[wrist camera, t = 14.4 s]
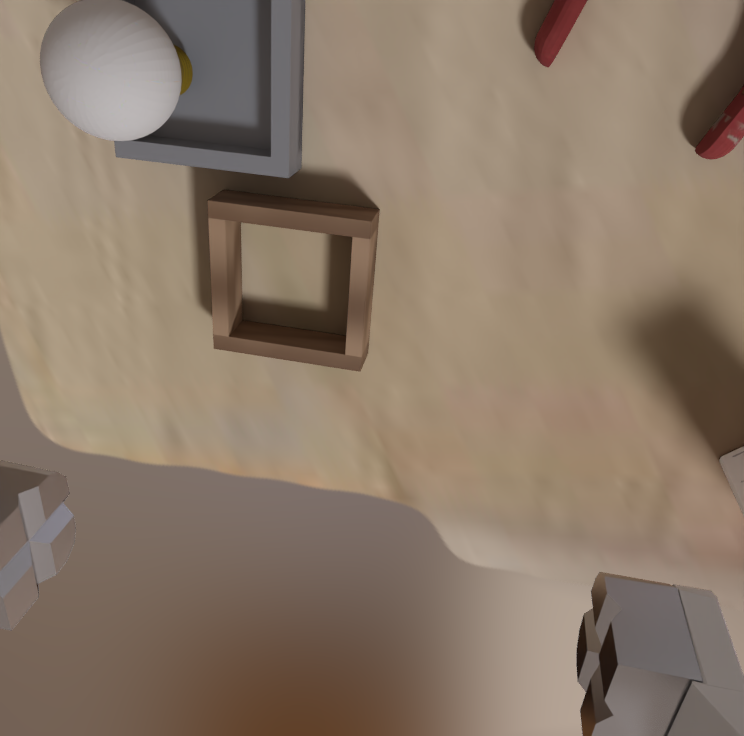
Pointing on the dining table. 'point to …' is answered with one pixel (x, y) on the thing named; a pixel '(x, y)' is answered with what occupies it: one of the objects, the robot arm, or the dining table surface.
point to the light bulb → (112, 69)
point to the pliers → (568, 4)
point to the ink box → (735, 473)
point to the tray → (232, 87)
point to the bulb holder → (227, 277)
